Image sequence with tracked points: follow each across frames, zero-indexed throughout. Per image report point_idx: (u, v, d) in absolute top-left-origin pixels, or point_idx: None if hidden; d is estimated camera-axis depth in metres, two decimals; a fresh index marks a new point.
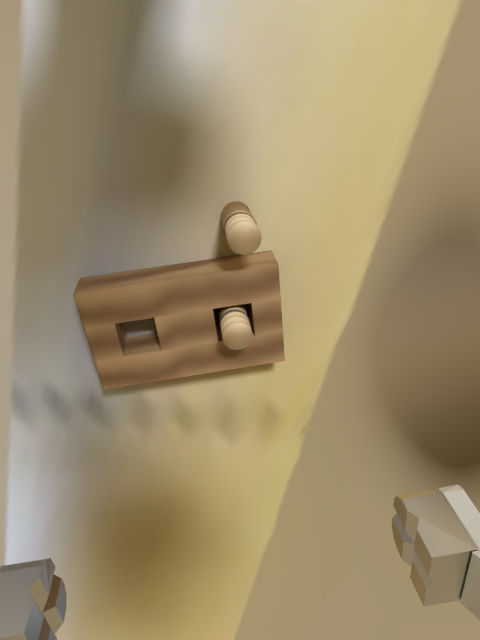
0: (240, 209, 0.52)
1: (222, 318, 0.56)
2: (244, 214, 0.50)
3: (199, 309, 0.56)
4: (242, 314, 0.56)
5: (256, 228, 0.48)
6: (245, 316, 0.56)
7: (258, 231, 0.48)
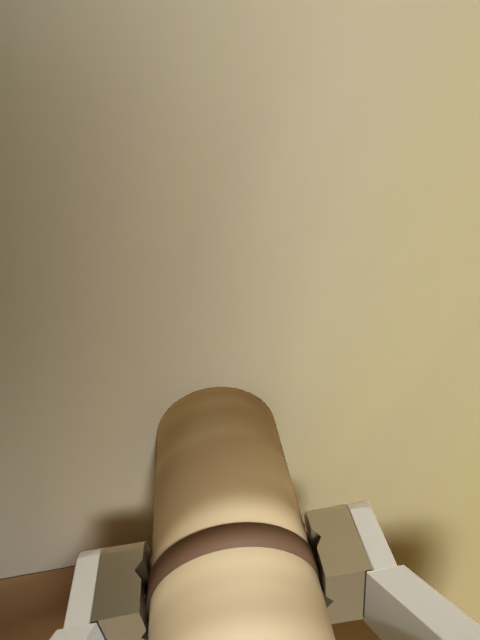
0: (234, 478, 0.10)
1: None
2: (256, 559, 0.09)
3: None
4: None
5: None
6: None
7: None
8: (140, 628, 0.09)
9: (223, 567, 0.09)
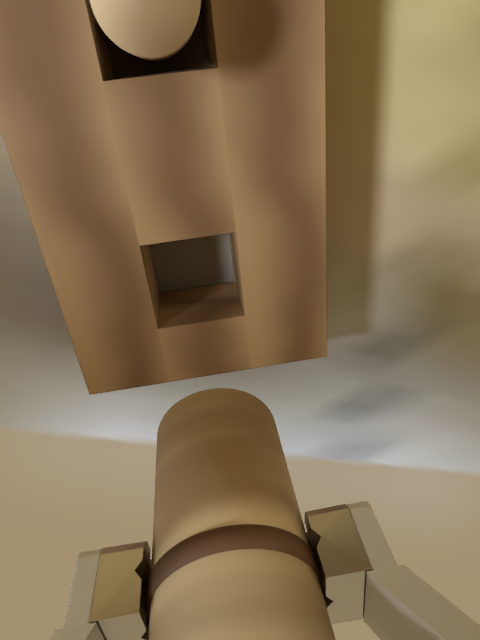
0: (234, 479, 0.10)
1: None
2: (257, 561, 0.09)
3: (108, 124, 0.20)
4: None
5: None
6: None
7: None
8: (139, 627, 0.09)
9: (223, 569, 0.09)
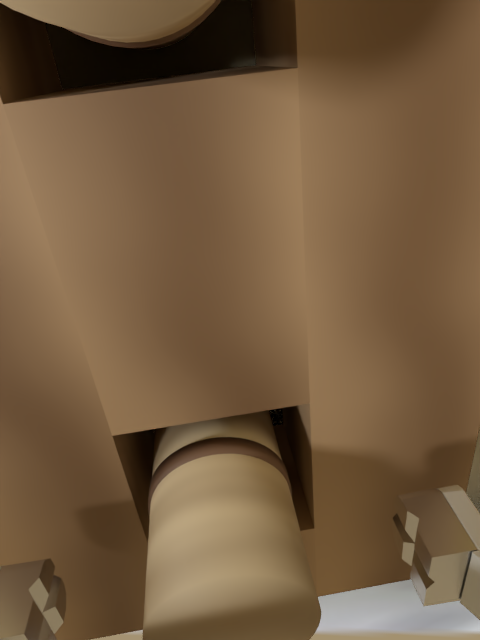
0: None
1: None
2: (236, 461, 0.11)
3: (25, 205, 0.08)
4: None
5: (298, 590, 0.09)
6: None
7: (308, 599, 0.09)
8: None
9: (209, 467, 0.11)
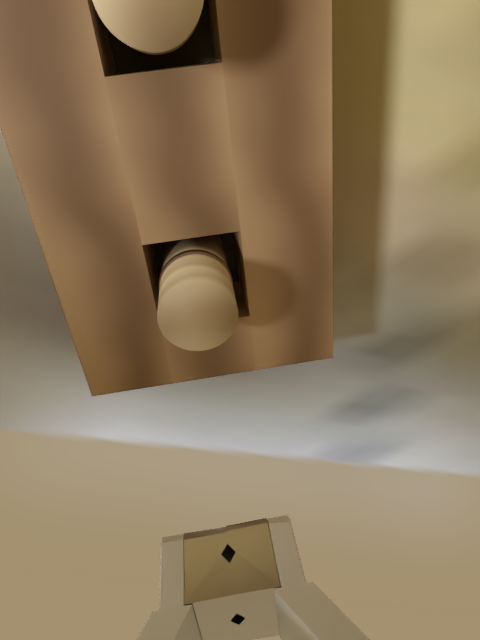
0: (197, 242, 0.24)
1: None
2: (202, 256, 0.22)
3: (109, 120, 0.19)
4: None
5: (226, 294, 0.20)
6: None
7: (231, 301, 0.20)
8: (230, 611, 0.09)
9: (189, 257, 0.22)
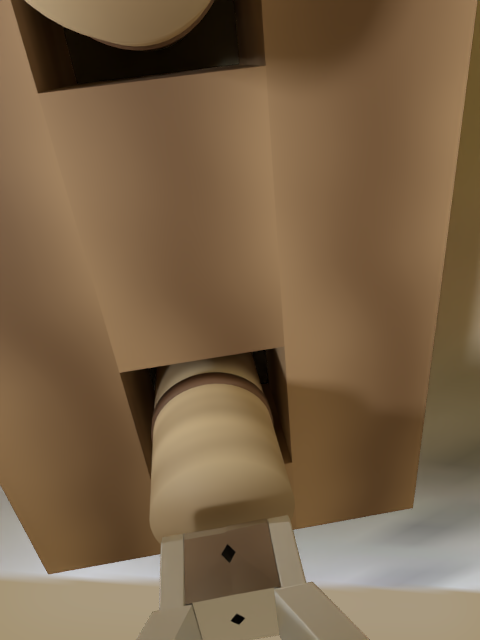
0: None
1: None
2: (227, 389, 0.13)
3: (53, 174, 0.10)
4: None
5: (276, 479, 0.11)
6: None
7: (284, 488, 0.11)
8: (231, 610, 0.09)
9: (204, 392, 0.13)
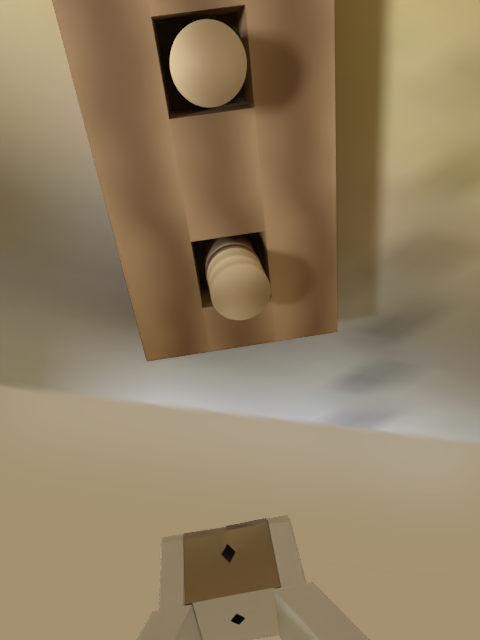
0: (235, 239, 0.31)
1: None
2: (242, 249, 0.29)
3: (171, 150, 0.26)
4: None
5: (263, 277, 0.27)
6: None
7: (266, 282, 0.27)
8: (230, 610, 0.09)
9: (232, 250, 0.29)
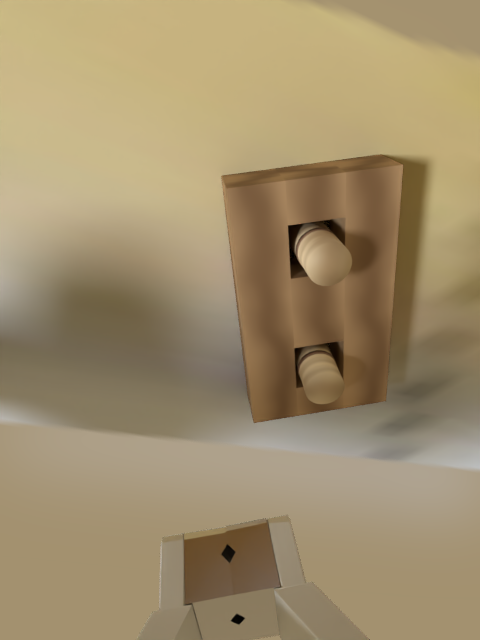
0: (319, 344, 0.45)
1: None
2: (326, 355, 0.43)
3: (289, 295, 0.41)
4: (301, 243, 0.37)
5: (341, 380, 0.41)
6: (306, 238, 0.37)
7: (342, 383, 0.41)
8: (231, 610, 0.09)
9: (320, 355, 0.43)
